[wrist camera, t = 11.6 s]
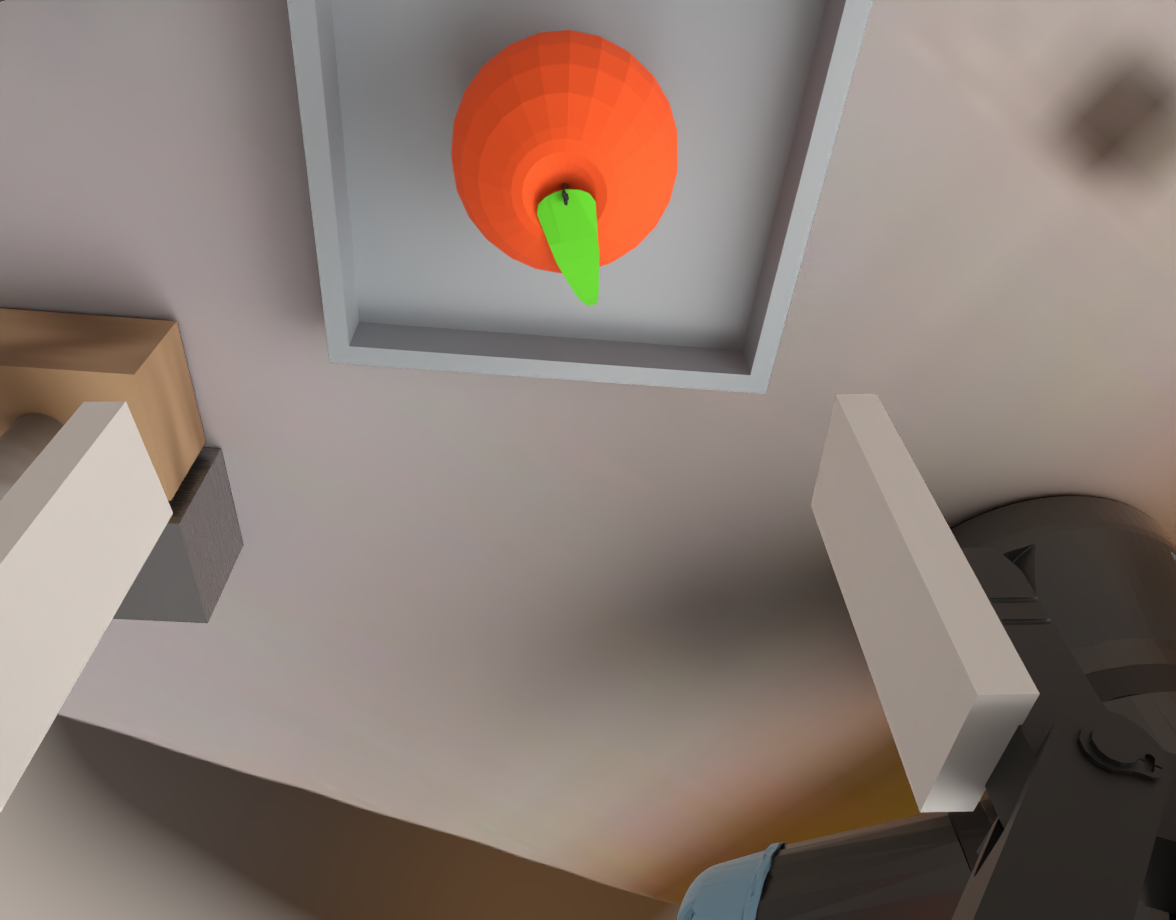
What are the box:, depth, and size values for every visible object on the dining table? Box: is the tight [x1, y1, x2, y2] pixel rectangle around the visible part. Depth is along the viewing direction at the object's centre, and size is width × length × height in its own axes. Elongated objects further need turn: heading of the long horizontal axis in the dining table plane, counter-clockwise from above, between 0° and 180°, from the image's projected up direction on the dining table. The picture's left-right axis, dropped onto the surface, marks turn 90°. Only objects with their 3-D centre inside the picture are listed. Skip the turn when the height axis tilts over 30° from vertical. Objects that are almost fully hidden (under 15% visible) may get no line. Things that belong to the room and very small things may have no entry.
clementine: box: [451, 30, 678, 306], centre depth 25 cm, size 8×7×7 cm
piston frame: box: [0, 0, 243, 623], centre depth 29 cm, size 9×28×6 cm, turn 175°
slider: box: [0, 308, 206, 501], centre depth 29 cm, size 8×6×12 cm
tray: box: [287, 0, 873, 394], centre depth 27 cm, size 17×17×2 cm
